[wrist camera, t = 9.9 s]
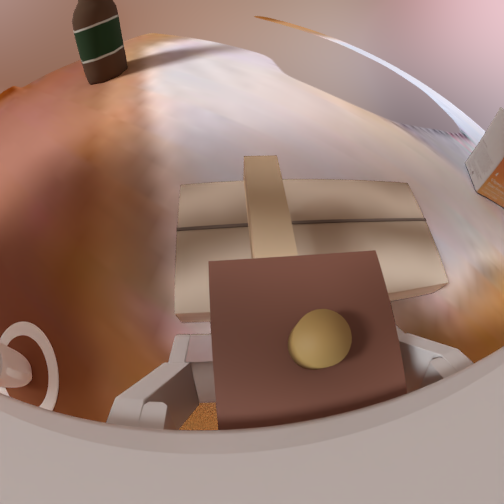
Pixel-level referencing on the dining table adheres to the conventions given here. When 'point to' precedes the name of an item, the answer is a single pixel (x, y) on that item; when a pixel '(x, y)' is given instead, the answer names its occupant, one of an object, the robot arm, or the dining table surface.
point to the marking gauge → (297, 322)
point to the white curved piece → (17, 366)
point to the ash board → (306, 234)
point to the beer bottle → (99, 39)
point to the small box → (489, 162)
